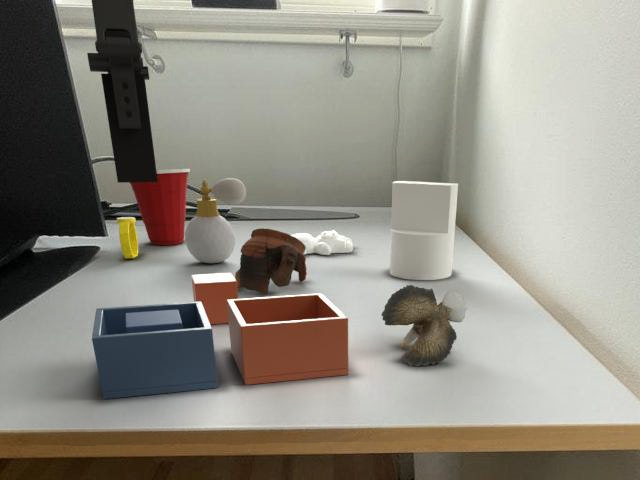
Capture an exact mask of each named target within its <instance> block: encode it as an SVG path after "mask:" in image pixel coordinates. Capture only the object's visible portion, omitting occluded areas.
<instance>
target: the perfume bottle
mask: <svg viewBox="0 0 640 480" xmlns="http://www.w3.org/2000/svg"><path fill="white" fill-rule="evenodd" d="M201 185H202V186H201V187H200V193H201V194H202V196H201V198H198V199H196V200H195V201H196V207H197V208H196V215H195V216H194V217H192V218H191V219H190V221H189V222H188V224H187V225H186V227H185V231H184V241H185V246H186V248H187V250H188V252H189V253H190V254H189V255H191V256H192V257H193V258H194V259H195V260H197V261H199V262H201V263H203V264H217V263H223V262H224V261H226V260H227V259H229V258H230V257H231V255H232V254H233V252H234V249H235V246H236V236H235V231H234V229H233V227H232V225H231V223H230V222H229V221H228V220H227V219H226V218H225V217H224V216H222V215H220V212H219V210H218V201H217V200H219V201H220V202H222V203H224V204H228V205H237V204H241V203H242V202H244V201H245V200H244V199H245V198H246V195H247V188H246V186H245V184H244V183H243V181H241V180H240V179H238V178H234V177H227V178H222V179H219V180H218V181H217V182H216V183H214V184H213V185H212V187H211V188H210V187H209V186H208V182H207V180H206V179H203V180H202V183H201ZM210 193H211V194H212V195H213V196H214V198H211V195H210Z"/></svg>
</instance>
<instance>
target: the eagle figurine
mask: <svg viewBox="0 0 640 480" xmlns="http://www.w3.org/2000/svg"><path fill="white" fill-rule="evenodd" d="M383 308H384V309H383V311H382V312H381V317H382V321H384V325H385V326H409V325H412V327H411V328H410V329H409V331H408V332H407V333H406V335H405V336H404V337H403V340H402V341H403V342H402V344H401V346H400V347H401V348H404V347H406V346H408V345H410V344H412V343H413V342H414V343H413V344H412V345H411V346H410V348H408V349H407V350H406V352H404V354H402V355H401V359H402V360H403V361H404V363H408V365H409V366H414V367H420V366H423V367H424V366H428V365H429V364H431V365H436V363H442V362H443V361H444V360H445V359H446V358H448V357H449V355H450V354H451V350H452V349H453V345H454V343H455V341H456V340H457V337H458V336H457V332H456V330H455V329H454V328H453V326H452V325H451V322H453V323H462V322H464V320H465V318H466V313H467V310H468V307H467V301H466V300H465V299H464V296H462V295H460V294H459V293H457V292H455V291H448V292H447V293H445V295H444V297H443V299H442V301H440V302H439V303H438V302H437V298H436V294H435V292H434V290H433V288H424V287H419V286H415V285H413V284H409V285H408V284H407V285H406V286H403V287H401V288H399V289H398V290H396V291H395V292H394V293H392V294H391V296H390V297H389V298H388V299H387V302H386V304H385V305H384V307H383Z"/></svg>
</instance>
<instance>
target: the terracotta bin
mask: <svg viewBox="0 0 640 480" xmlns="http://www.w3.org/2000/svg"><path fill="white" fill-rule="evenodd" d="M227 311H228V322H229V323H228V330H229V331H228V332H229V338H230V339H229V342H230V353H231V355H232V357H233V360H234V362H235V365H236V366H237V369H238V371H239V373H240V375H241V378H242V380H243V382H244V385H245V386H247V385H248V386H249V385H250V386H251V385H260V384H267V383H277V382H279V383H280V382H288V381H297V380H309V379H317V378H328V377H337V376H347V375H349V318H348V317H347V316H346V314H344V313H343V312H342V311H341V310H340V309H339V307H337V306H336V305H335V304H334V303H333V302H332V301H331V300H330V299H329V298H328V297H326V295H324V294H323V293H322V292H320V293H306V294H290V295H289V294H288V295H275V296H263V297H262V296H261V297H247V298H246V297H245V298H238V299H229V300H227Z"/></svg>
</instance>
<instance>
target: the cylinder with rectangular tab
mask: <svg viewBox="0 0 640 480" xmlns="http://www.w3.org/2000/svg"><path fill="white" fill-rule="evenodd" d="M458 191H459V183H451V182H433V181H414V180H413V181H411V180H395V181H392V183H391V211H390V212H391V213H390V248H389V249H390V250H389V275H391V276H392V277H394V278H398V279H404V280H409V281H411V280H412V281H437V280H443V279H447V278H449V277H451V276H452V275H453V273H452V272H453V263H454V262H453V260H454V246H455V245H454V244H455V235H456V233H455V232H456V219H457V218H456V217H457V207H458V204H457V203H458Z"/></svg>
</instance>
